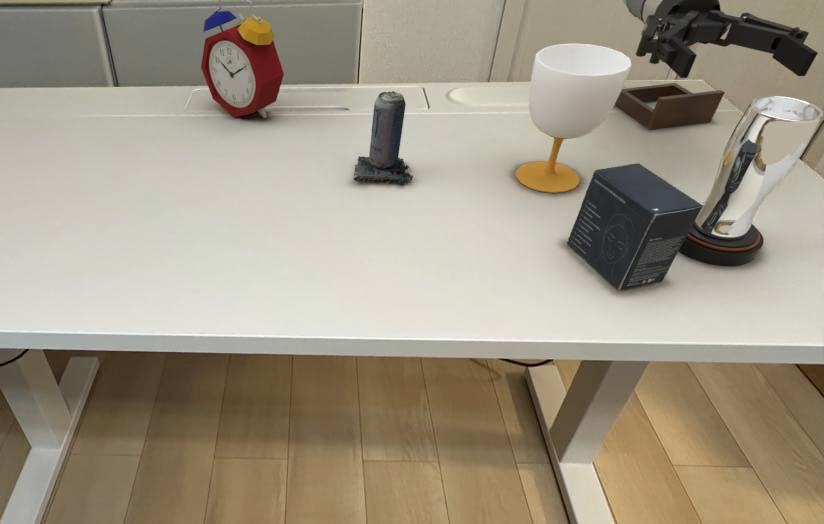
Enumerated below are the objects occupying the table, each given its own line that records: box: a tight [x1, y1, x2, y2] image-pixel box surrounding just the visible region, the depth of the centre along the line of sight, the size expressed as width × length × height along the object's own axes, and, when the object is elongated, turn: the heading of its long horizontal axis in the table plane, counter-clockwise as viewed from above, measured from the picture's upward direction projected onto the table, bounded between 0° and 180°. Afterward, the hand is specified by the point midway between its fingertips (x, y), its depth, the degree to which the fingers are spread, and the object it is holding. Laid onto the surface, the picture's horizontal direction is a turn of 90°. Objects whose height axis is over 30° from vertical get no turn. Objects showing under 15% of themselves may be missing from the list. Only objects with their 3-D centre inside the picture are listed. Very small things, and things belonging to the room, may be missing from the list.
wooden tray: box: [614, 82, 725, 130], centre depth 100 cm, size 11×11×5 cm
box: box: [566, 162, 703, 291], centre depth 70 cm, size 11×7×10 cm, turn 15°
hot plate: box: [678, 223, 765, 267], centre depth 74 cm, size 10×10×2 cm
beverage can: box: [352, 90, 414, 185], centre depth 87 cm, size 9×8×12 cm
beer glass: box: [693, 95, 824, 240], centre depth 68 cm, size 7×7×15 cm
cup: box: [515, 42, 633, 194], centre depth 82 cm, size 12×12×17 cm
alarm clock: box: [200, 0, 285, 119], centre depth 103 cm, size 15×9×20 cm, turn 50°
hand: (748, 65), depth 72 cm, fingers open, 13 cm apart
